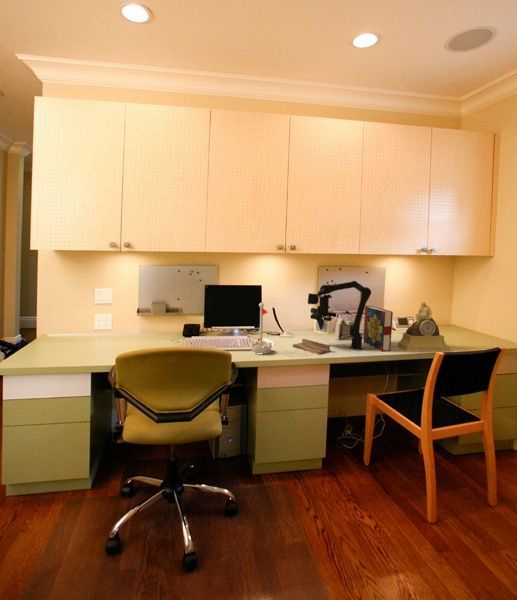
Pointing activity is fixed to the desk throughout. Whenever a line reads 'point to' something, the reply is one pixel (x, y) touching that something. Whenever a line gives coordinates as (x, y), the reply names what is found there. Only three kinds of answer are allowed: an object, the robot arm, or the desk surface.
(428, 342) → the decorative clock
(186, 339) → the desk surface
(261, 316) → the flag stand
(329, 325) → the picture frame
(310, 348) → the picture ledge
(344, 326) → the decorative sign
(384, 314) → the book
